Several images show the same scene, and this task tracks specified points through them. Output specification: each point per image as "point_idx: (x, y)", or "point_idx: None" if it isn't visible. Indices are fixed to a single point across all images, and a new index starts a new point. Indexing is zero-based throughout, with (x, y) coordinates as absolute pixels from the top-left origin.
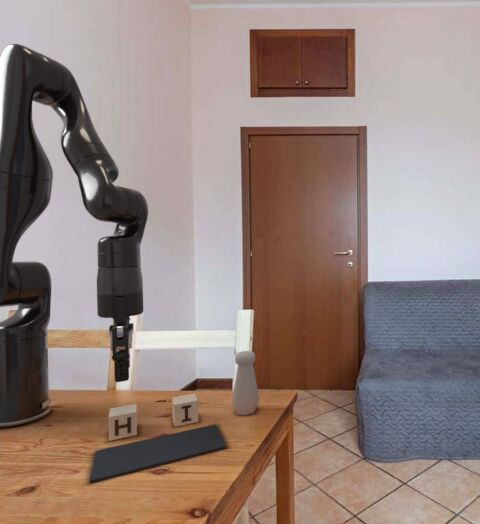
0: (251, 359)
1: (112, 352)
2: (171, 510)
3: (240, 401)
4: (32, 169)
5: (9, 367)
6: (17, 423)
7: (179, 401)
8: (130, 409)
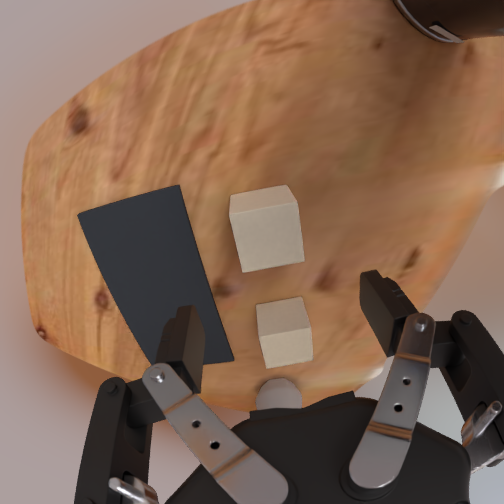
0: None
1: (94, 408)
2: (39, 314)
3: (259, 403)
4: None
5: None
6: None
7: (275, 343)
8: (266, 255)
